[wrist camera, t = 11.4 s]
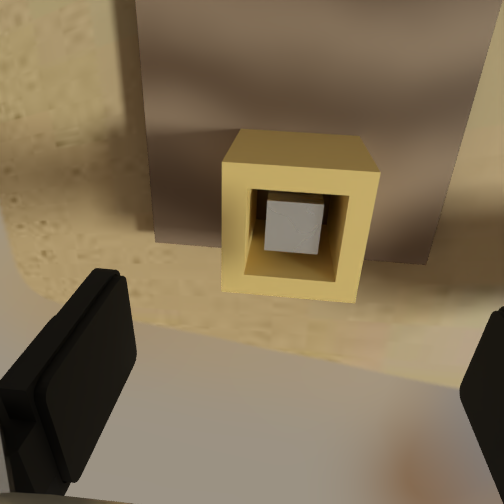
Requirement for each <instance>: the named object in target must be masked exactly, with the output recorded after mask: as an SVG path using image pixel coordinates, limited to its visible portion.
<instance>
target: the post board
mask: <svg viewBox="0 0 504 504" xmlns="http://www.w3.org/2000/svg"><path fill="white" fill-rule="evenodd" d="M135 3H136V15H137V27H138V39H139V51H140V63H141V75H142V87H143V99H144V111H145V124H146V136H147V148H148V160H149V172H150V184H151V196H152V208H153V220H154V232H155V242H158V243H170V244H182V245H194V246H206V247H218V248H222V161H223V159H224V157H225V155H226V154H227V152H228V150H229V148H230V147H231V145H232V143H233V142H234V140H235V138H236V136H237V135H238V133H239V131H240V129H254V130H270V131H286V132H303V133H319V134H335V135H352V136H360V138H361V140H362V141H363V143H364V145H365V146H366V148H367V150H368V152H369V153H370V155H371V157H372V158H373V160H374V162H375V163H376V165H377V167H378V169H379V170H380V172H381V174H380V179H379V184H378V189H377V194H376V199H375V204H374V209H373V214H372V219H371V224H370V229H369V234H368V239H367V244H366V250H365V255H364V260H374V261H386V262H398V263H410V264H422V265H426V263H427V260H428V257H429V253H430V250H431V246H432V243H433V239H434V236H435V232H436V229H437V225H438V222H439V218H440V215H441V211H442V208H443V205H444V201H445V198H446V194H447V191H448V187H449V184H450V180H451V177H452V173H453V170H454V166H455V163H456V160H457V156H458V153H459V149H460V146H461V142H462V139H463V135H464V132H465V128H466V125H467V121H468V118H469V114H470V111H471V108H472V104H473V101H474V97H475V94H476V90H477V87H478V83H479V80H480V76H481V73H482V69H483V66H484V63H485V59H486V56H487V52H488V49H489V45H490V42H491V38H492V35H493V31H494V28H495V24H496V21H497V17H498V14H499V11H500V7H501V4H502V0H135ZM330 197H331V194H319V193H305V192H291V191H276V190H262V189H257V209H256V219H258V220H266V228H265V244H264V250H269V251H281V252H293V253H305V254H318V247H319V239H320V232H321V225H322V224H324V225H327V218H328V211H329V204H330Z"/></svg>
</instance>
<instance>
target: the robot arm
mask: <svg viewBox="0 0 504 504" xmlns="http://www.w3.org/2000/svg"><path fill="white" fill-rule="evenodd" d="M136 355H137V350H136V343H135V336H134V329H133V322H132V315H131V308H130V301H129V294H128V287H127V281H126V278H125V277H124V276H120V273H119V271H117V270H112V269H101V268H95V269H94V270H93V271H92V272H91V273H90V274H89V275H88V277H87V278H86V279H85V280H84V282H83V283H82V284H81V285H80V286H79V288H78V289H77V290H76V291H75V293H74V294H73V295H72V296H71V297H70V299H69V300H68V301H67V302H66V304H65V305H64V306H63V307H62V309H61V310H60V311H59V312H58V313H57V315H55V316H54V317H53V318H52V319H51V320H50V321H49V322H48V323H47V324H46V325H45V327H44V328H43V329H42V330H41V331H40V333H39V334H38V335H37V336H36V338H35V339H34V340H33V341H32V342H31V344H30V345H29V346H28V347H27V349H26V350H25V351H24V352H23V353H22V355H21V356H20V357H19V358H18V359H17V361H16V362H15V363H14V364H13V365H12V367H11V368H10V369H9V370H8V372H7V373H6V374H5V375H4V376H3V378H2V379H1V380H0V504H132V503H124V502H115V501H106V500H96V499H87V498H78V497H69V496H64V495H65V493H66V491H67V489H68V487H69V485H70V483H71V482H73V483H75V482H77V481H78V480H79V478H80V477H81V475H82V472H83V471H84V468H85V466H86V464H87V462H88V460H89V458H90V456H91V454H92V452H93V450H94V448H95V446H96V443H97V441H98V439H99V437H100V435H101V433H102V431H103V429H104V427H105V424H106V422H107V420H108V418H109V416H110V414H111V412H112V410H113V408H114V406H115V404H116V402H117V399H118V397H119V395H120V393H121V391H122V389H123V387H124V385H125V383H126V381H127V379H128V377H129V374H130V372H131V370H132V368H133V366H134V364H135V361H136ZM460 399H461V402H462V404H463V407H464V409H465V412H466V414H467V416H468V419H469V421H470V424H471V426H472V429H473V431H474V433H475V436H476V438H477V441H478V443H479V446H480V448H481V450H482V453H483V455H484V458H485V460H486V463H487V465H488V467H489V470H490V472H491V475H492V477H493V480H494V482H495V484H496V487H497V489H498V492H499V494H500V497H501V499H502V501H503V504H504V306H503V307H501V308H500V309H499V311H494V312H493V313H492V314H491V316H490V318H489V320H488V323H487V325H486V327H485V330H484V332H483V334H482V337H481V339H480V341H479V344H478V346H477V348H476V350H475V353H474V355H473V357H472V360H471V362H470V364H469V367H468V369H467V371H466V374H465V376H464V378H463V381H462V383H461V385H460Z"/></svg>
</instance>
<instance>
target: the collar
mask: <svg viewBox="0 0 504 504" xmlns="http://www.w3.org/2000/svg"><path fill="white" fill-rule="evenodd" d="M380 174H381V172H380V170H379V169H378V167H377V165H376V163H375V162H374V160H373V158H372V157H371V155H370V153H369V152H368V150H367V148H366V146H365V145H364V143H363V141H362V140H361V138H360V136H352V135H335V134H319V133H303V132H286V131H270V130H254V129H240V131H239V133H238V135H237V136H236V138H235V140H234V142H233V143H232V145H231V147H230V148H229V150H228V152H227V154H226V155H225V157H224V159H223V161H222V267H221V291H223V292H234V293H245V294H256V295H268V296H279V297H290V298H302V299H313V300H324V301H336V302H347V303H355V300H356V295H357V290H358V285H359V280H360V275H361V270H362V265H363V260H364V255H365V250H366V244H367V239H368V234H369V229H370V224H371V219H372V214H373V209H374V204H375V199H376V194H377V189H378V184H379V179H380ZM257 189H262V190H276V191H291V192H305V193H319V194H331V197H330V204H329V211H328V218H327V225H324V224H322V225H321V232H320V239H319V247H318V254H305V253H293V252H281V251H269V250H264V244H265V228H266V220H258V219H256V209H257Z"/></svg>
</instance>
